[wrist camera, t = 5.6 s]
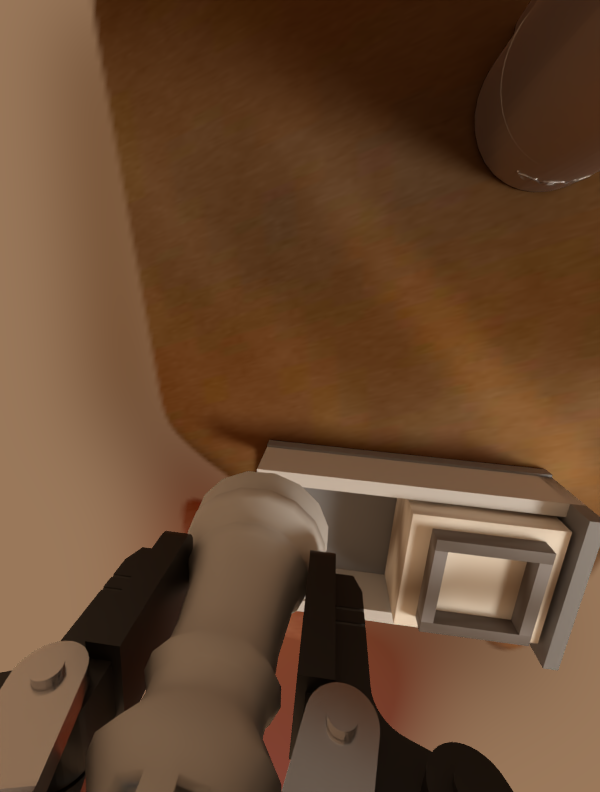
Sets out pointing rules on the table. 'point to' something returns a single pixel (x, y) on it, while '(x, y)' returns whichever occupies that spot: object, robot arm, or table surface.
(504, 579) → the frame
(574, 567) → the crate bay
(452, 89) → the table surface
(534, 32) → the robot arm
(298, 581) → the rook chess piece
